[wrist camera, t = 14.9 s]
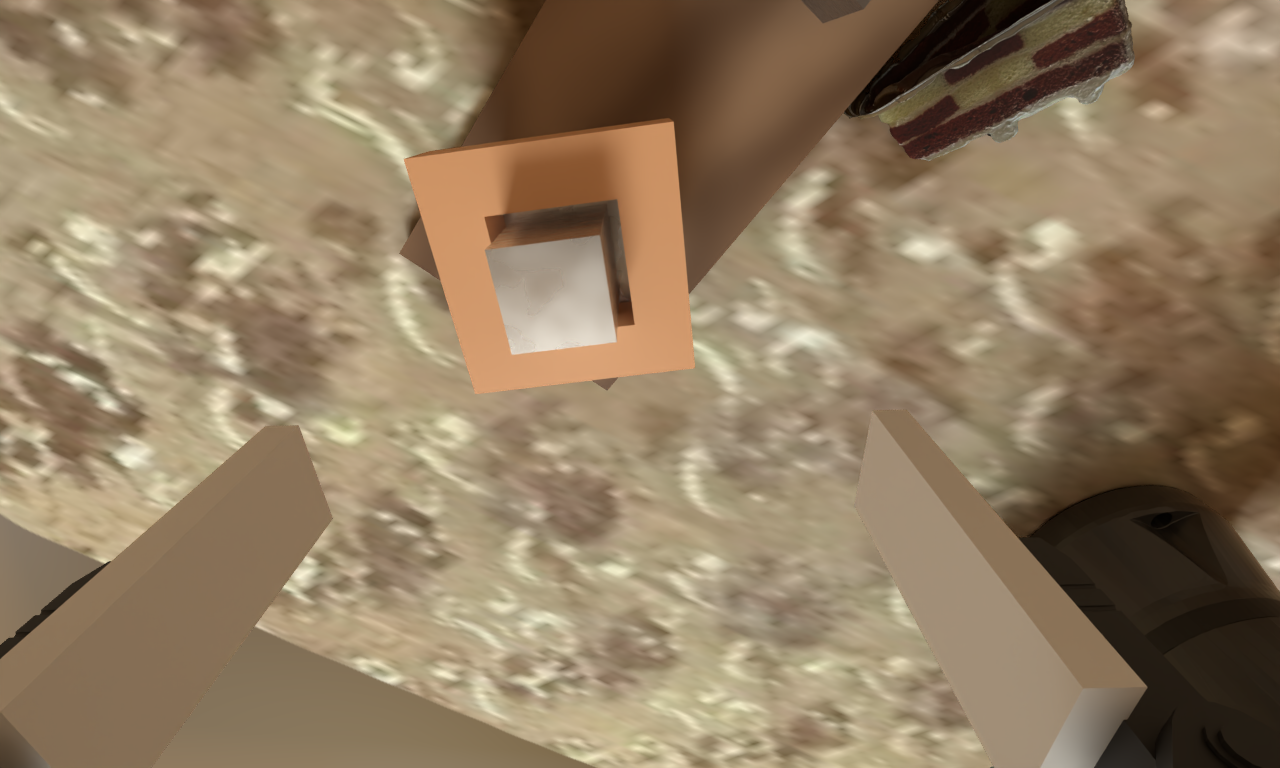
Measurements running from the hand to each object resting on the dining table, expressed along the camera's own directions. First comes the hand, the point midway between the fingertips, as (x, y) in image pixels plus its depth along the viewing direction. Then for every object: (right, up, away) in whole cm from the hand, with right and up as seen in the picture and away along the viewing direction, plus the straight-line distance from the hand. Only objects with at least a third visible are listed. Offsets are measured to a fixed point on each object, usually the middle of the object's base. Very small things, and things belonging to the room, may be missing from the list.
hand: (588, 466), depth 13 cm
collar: (-2, +8, +12) cm, 15 cm away
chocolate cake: (+18, +18, +15) cm, 29 cm away
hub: (-2, +10, +16) cm, 19 cm away
